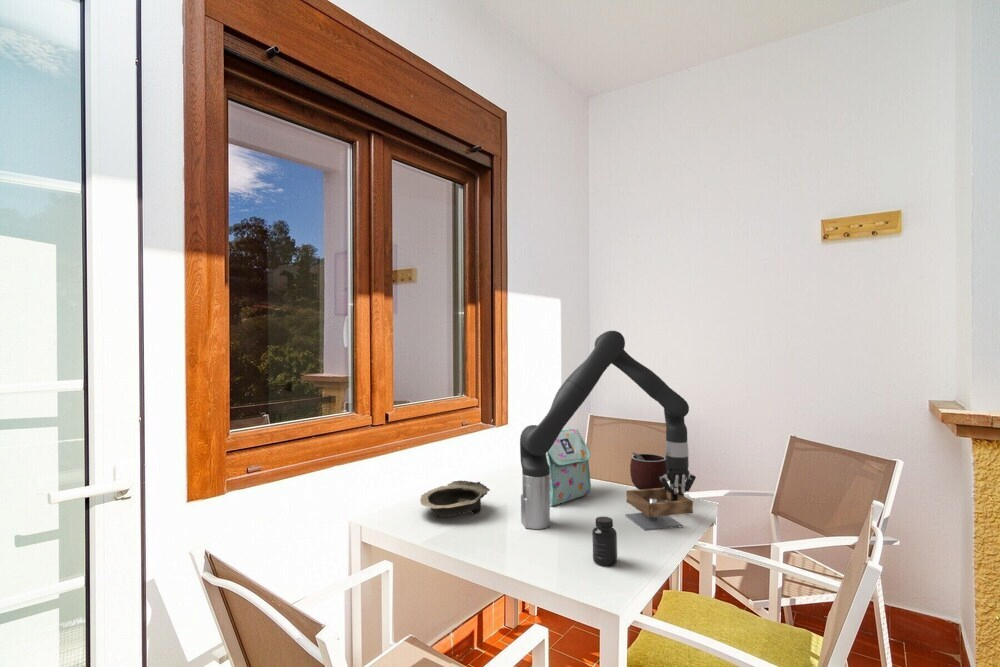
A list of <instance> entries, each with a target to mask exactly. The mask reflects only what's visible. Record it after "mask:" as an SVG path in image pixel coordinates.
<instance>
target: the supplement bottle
mask: <svg viewBox="0 0 1000 667" xmlns="http://www.w3.org/2000/svg"><path fill="white" fill-rule="evenodd" d="M591 535H592V560H593V563H594V564H596V565H598V566H601V567H612V566H615V565H617V562H618V537H617V536H618V534H617V530H616V529H615V527H614V522H613V518H612V517H609V516H598V517H596V518H595V527H593V529H592V532H591Z"/></svg>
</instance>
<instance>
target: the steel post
mask: <svg viewBox="0 0 1000 667" xmlns="http://www.w3.org/2000/svg"><path fill="white" fill-rule="evenodd" d="M649 503H657V499H656V498H649ZM649 519H650V520H652V521H656V520H657V517H649Z"/></svg>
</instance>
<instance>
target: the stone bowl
mask: <svg viewBox="0 0 1000 667" xmlns="http://www.w3.org/2000/svg"><path fill="white" fill-rule="evenodd" d="M490 490H491V489H490V488H488V487H487V485H485V484H483V483H481V482H480V481H477V482H474V481H469V480H468V481H467V480H456V481H455V480H454V481H452V482H450V483H448V484H447V485H441V486H438V487H435V488H433V489H430V490H428V491H427V492H424V493H423V494H421V496H420V498H419V499H420V500H419V502H420V504H421V506H424V507H427V508H430V510H431V511H432V513H433V516H436V517H437V518H439V517H442V518H443V517H449V516H457V515H462V514H465V513H469V512H470V513H472V514H473V515H475V514H476V515H478V514H480V513H481V511H482V500H481V499H483V498H484V497H485V496H486V495H487V494H488V492H489V491H490ZM490 492H491V491H490ZM477 513H478V514H477Z"/></svg>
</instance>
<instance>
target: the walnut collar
mask: <svg viewBox="0 0 1000 667" xmlns="http://www.w3.org/2000/svg"><path fill="white" fill-rule="evenodd" d="M649 498H656V499H657V501H661V500H665V501H666V502H658V503H649ZM626 503H627V504H629V505H631V507H633V508H635V509H636V510H638V511H639V513H643V514H645V515H646V516H648V517H657V516H676V515H687V514H689V515H690V514H693V513H694V506H693V504H694V500H691V499H690V498H688V497H686V496H685V495H684V496H682V495H680V494H678V492H677V501H671V493H670V492H668V491H666V490H665V488H654V489H642V490H639V489H632V490H630V489H629V490H626Z"/></svg>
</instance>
